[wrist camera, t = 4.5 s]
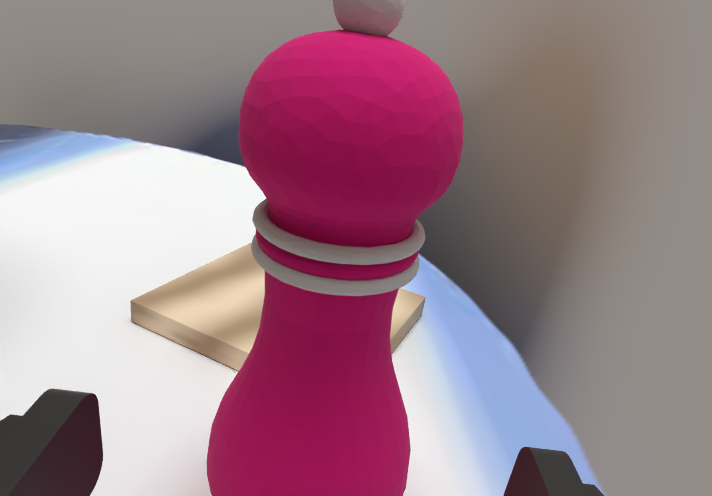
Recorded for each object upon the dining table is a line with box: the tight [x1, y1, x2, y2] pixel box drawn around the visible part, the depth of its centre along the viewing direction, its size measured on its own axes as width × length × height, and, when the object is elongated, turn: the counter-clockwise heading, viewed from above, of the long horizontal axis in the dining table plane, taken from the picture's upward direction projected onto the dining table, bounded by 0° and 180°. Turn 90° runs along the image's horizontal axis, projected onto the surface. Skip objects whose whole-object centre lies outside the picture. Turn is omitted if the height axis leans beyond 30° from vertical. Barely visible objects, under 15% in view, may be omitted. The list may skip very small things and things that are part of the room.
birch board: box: [131, 243, 426, 371], centre depth 34 cm, size 15×13×2 cm
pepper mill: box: [207, 0, 463, 496], centre depth 16 cm, size 7×7×20 cm
